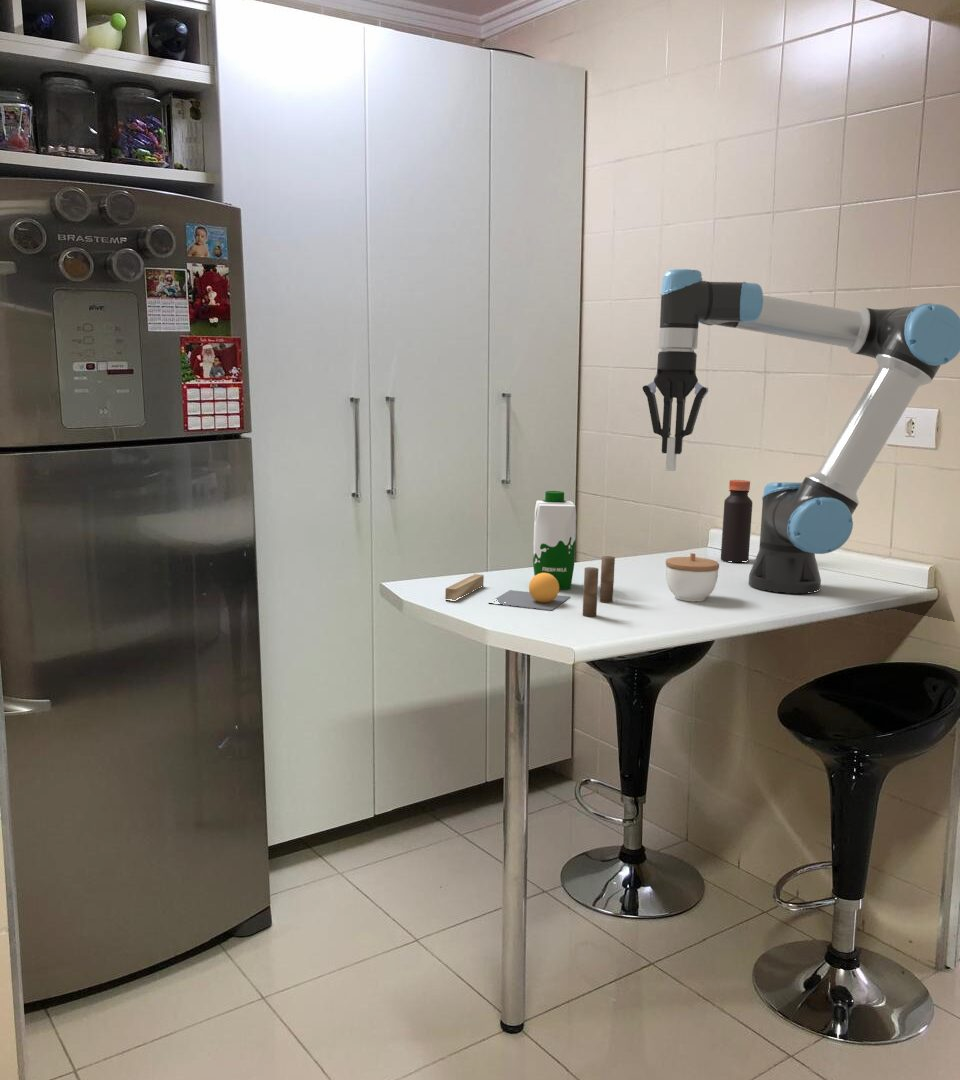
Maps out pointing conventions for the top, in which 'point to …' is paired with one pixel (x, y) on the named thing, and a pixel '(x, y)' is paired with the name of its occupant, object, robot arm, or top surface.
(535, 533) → the milk carton
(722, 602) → the top surface
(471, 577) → the rail
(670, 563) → the lidded jar
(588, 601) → the post
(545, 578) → the ball
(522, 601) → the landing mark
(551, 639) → the top surface
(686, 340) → the robot arm
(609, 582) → the post
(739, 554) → the bottle
